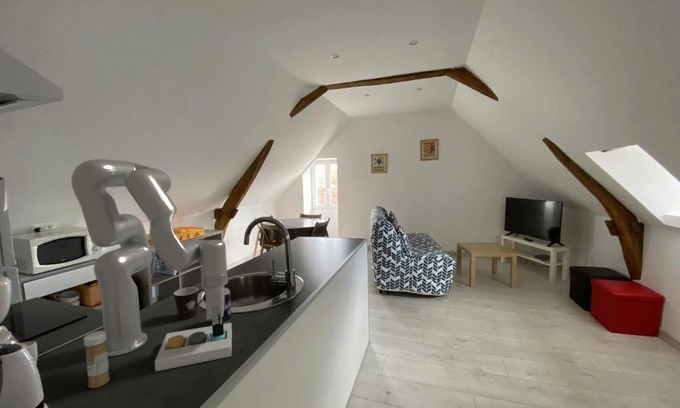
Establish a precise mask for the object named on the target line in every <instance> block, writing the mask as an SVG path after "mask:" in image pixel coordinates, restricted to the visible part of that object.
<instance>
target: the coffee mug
mask: <svg viewBox="0 0 680 408" xmlns="http://www.w3.org/2000/svg"><path fill="white" fill-rule="evenodd" d="M201 292H204V293H205V294H204V296H203V298H201V300H199V294H200V293H201ZM173 297H174V301H175V302H174V303H175V307H176V311H177V317H178V320H189V319H193V318H195V317H196V316H197V315H198V307H199V305H200V304H201V303H203V301H204V300H206V289H205V288H204V289H200V290H199V288H198V287H196V286H195V287H194V286H191V287H189V286H188V287H184V288H183V287H182V288H179V289H177V290H175V291H174V292H173ZM198 301H199V302H198Z"/></svg>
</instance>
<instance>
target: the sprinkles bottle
mask: <svg viewBox="0 0 680 408" xmlns="http://www.w3.org/2000/svg"><path fill="white" fill-rule="evenodd" d="M106 339H107V337H106V332H104V330H99V331H94V332H90V333H89V334H87V335H85V336H84V338H83V345H84V347H85V354H86V357H85V360H86V369H87V372H86V373H87V377H88V384H87V385H88V388H90V389H97V388H100V387H101V386H104V385H106V384H107V383H109V381H110V379H111V377H110V372H109V356H108V354H107V346H106Z"/></svg>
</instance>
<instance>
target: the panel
mask: <svg viewBox="0 0 680 408" xmlns="http://www.w3.org/2000/svg"><path fill="white" fill-rule="evenodd" d="M223 326H224V332H225V339H223V340H218V341H212V342H211V337H210V336H211V335H212V334H213V330H212V325H210V326H204V327H198V328H192V329H186V330H185V329H184V330H181V331H180V330H179V331H174V332H167V333H166V335H165V337H164V339H163V341H162V344H161V347H160V349H159V351H158V353H157V356H156V358H155V360H154V369H155V372H159V371H161V372H162V371H164V370H170V369H175V368H180V367H185V366H191V365H195V364H199V363H203V362H204V363H205V362H209V361H215V360H219V359H224V358H229V357H232V350H233V349H232V346H233V345H232V344H233V343H232V342H233V341H232V340H233V337H232V335H233V329H232V328H233V327H232V322H227V323H223ZM196 332H204V333H205V343H202V344H196V345H191V346H190V338H189V337H190V335H191V334H193V333H196ZM177 335H182V336H184V347H180V348H175V349H169V350H168V339H170V338H171V337H173V336H177Z"/></svg>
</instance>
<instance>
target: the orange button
mask: <svg viewBox="0 0 680 408" xmlns="http://www.w3.org/2000/svg"><path fill="white" fill-rule="evenodd" d="M180 347H184V336H182V335H177V336H173V337H171V338H170V339H168V350H169V349H175V348H180Z"/></svg>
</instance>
